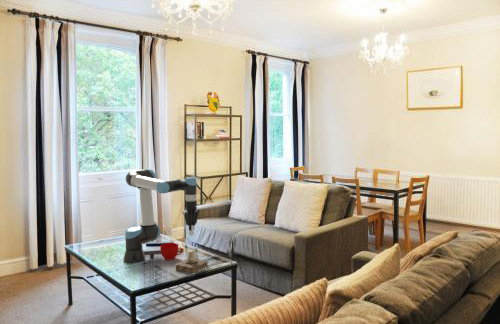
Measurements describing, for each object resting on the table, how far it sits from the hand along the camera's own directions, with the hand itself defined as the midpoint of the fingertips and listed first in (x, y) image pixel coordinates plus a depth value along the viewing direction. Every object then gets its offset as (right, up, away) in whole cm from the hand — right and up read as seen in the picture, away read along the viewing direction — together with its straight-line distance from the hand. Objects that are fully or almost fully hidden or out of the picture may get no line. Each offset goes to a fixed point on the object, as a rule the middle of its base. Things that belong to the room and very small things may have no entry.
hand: (191, 234), depth 286 cm
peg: (0, -24, +2) cm, 24 cm away
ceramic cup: (-17, -22, +22) cm, 35 cm away
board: (0, -24, +2) cm, 24 cm away
